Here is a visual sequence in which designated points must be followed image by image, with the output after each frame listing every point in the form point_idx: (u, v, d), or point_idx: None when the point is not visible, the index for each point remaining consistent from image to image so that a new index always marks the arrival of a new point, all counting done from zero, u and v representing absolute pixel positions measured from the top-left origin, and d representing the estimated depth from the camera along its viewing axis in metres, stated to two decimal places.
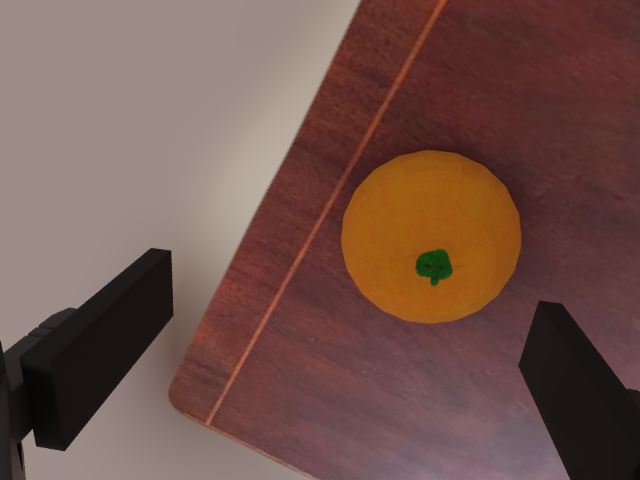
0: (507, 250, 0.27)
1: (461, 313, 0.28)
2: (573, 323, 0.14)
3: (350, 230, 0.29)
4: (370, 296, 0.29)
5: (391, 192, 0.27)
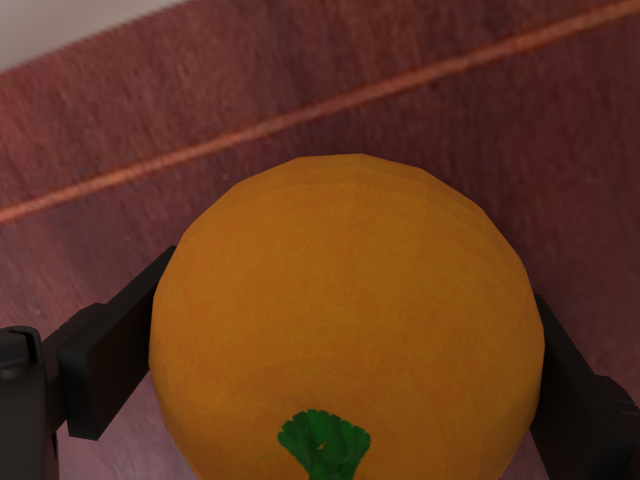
0: None
1: None
2: (549, 313, 0.15)
3: (218, 231, 0.11)
4: (153, 380, 0.12)
5: (369, 234, 0.10)
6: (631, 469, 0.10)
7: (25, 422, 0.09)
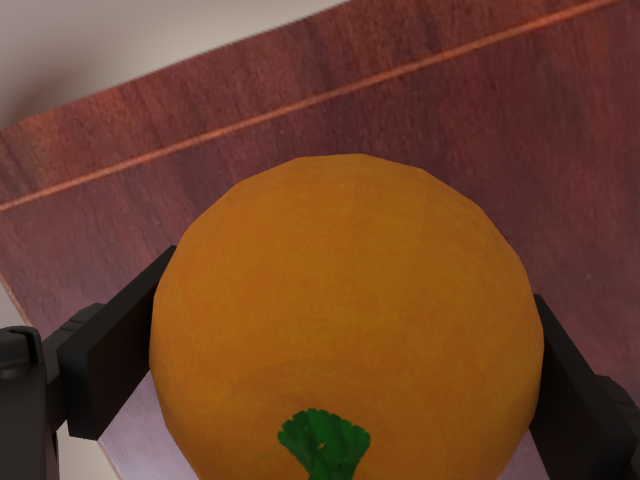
0: None
1: None
2: (549, 313, 0.15)
3: (219, 231, 0.11)
4: (154, 379, 0.12)
5: (370, 234, 0.10)
6: (630, 469, 0.10)
7: (25, 422, 0.09)
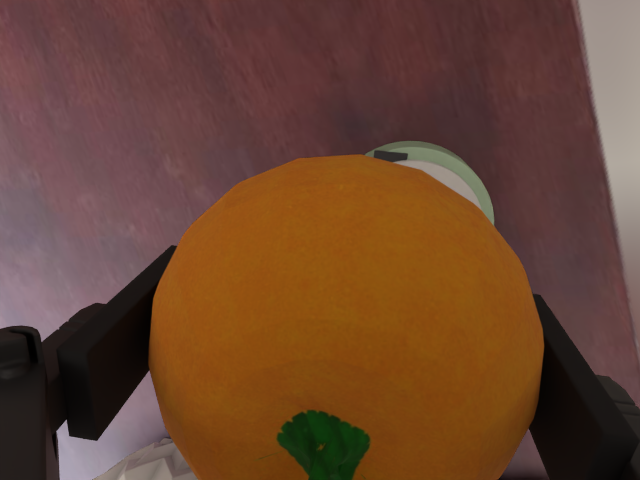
0: None
1: None
2: (549, 313, 0.15)
3: (218, 232, 0.11)
4: (153, 380, 0.12)
5: (369, 236, 0.10)
6: (631, 469, 0.10)
7: (25, 422, 0.09)
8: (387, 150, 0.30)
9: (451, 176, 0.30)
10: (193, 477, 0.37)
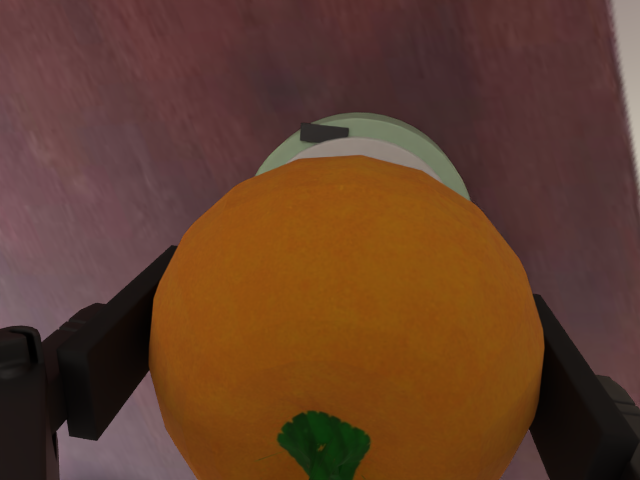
0: None
1: None
2: (549, 313, 0.15)
3: (219, 233, 0.11)
4: (153, 381, 0.12)
5: (369, 237, 0.10)
6: (631, 469, 0.10)
7: (25, 422, 0.09)
8: (320, 123, 0.21)
9: (411, 161, 0.20)
10: None
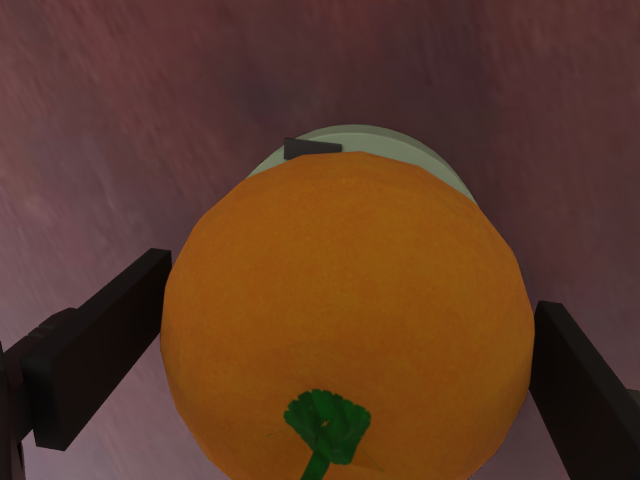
0: None
1: None
2: (573, 323, 0.14)
3: (228, 224, 0.12)
4: (166, 364, 0.13)
5: (370, 226, 0.11)
6: None
7: None
8: (308, 138, 0.18)
9: None
10: None
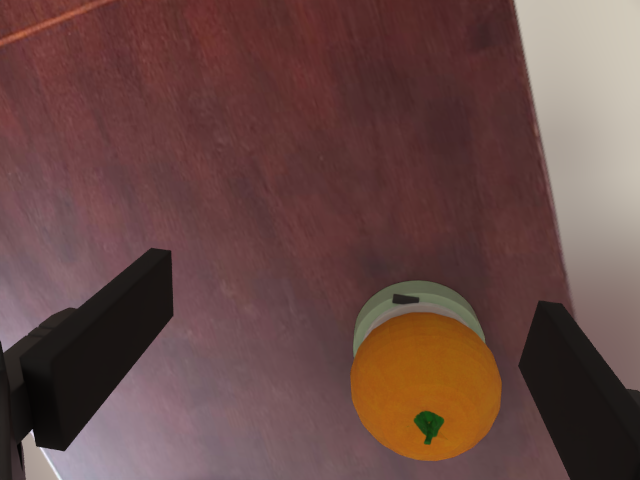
0: (473, 445, 0.33)
1: (410, 457, 0.34)
2: (573, 323, 0.14)
3: (392, 351, 0.33)
4: (362, 400, 0.34)
5: (445, 356, 0.32)
6: None
7: None
8: (403, 294, 0.39)
9: (453, 317, 0.38)
10: None
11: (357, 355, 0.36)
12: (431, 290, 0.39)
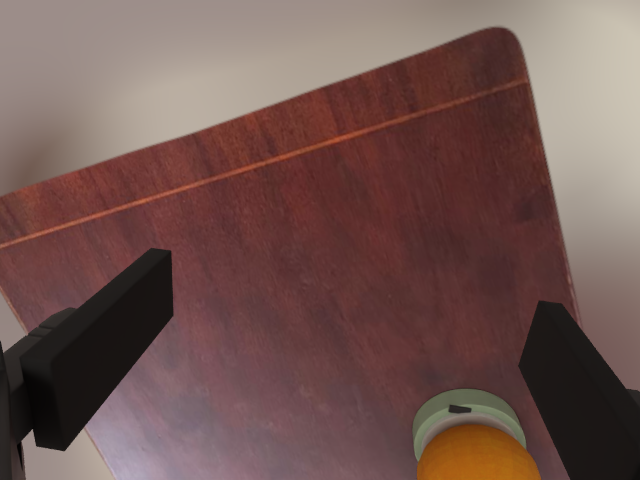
0: None
1: None
2: (573, 323, 0.14)
3: (456, 466, 0.41)
4: None
5: (500, 474, 0.40)
6: None
7: None
8: (457, 404, 0.47)
9: (499, 424, 0.46)
10: None
11: (423, 462, 0.44)
12: (480, 401, 0.47)
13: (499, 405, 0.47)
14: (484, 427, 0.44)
